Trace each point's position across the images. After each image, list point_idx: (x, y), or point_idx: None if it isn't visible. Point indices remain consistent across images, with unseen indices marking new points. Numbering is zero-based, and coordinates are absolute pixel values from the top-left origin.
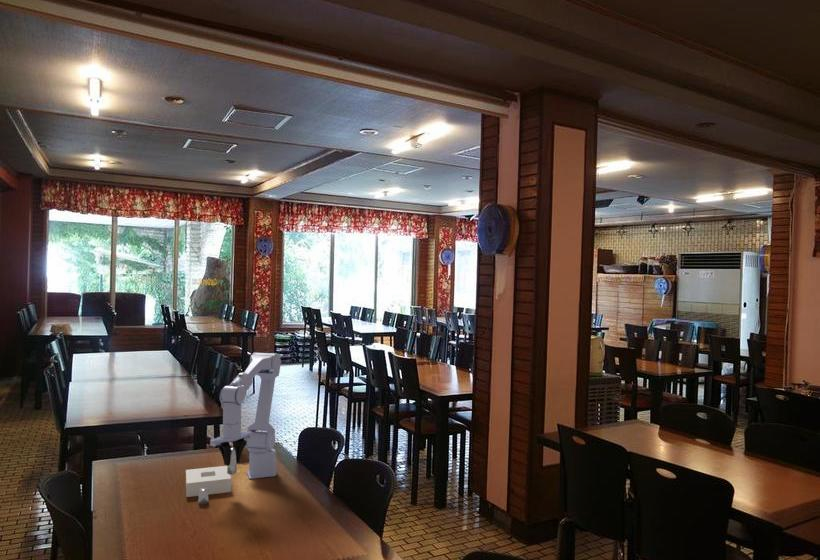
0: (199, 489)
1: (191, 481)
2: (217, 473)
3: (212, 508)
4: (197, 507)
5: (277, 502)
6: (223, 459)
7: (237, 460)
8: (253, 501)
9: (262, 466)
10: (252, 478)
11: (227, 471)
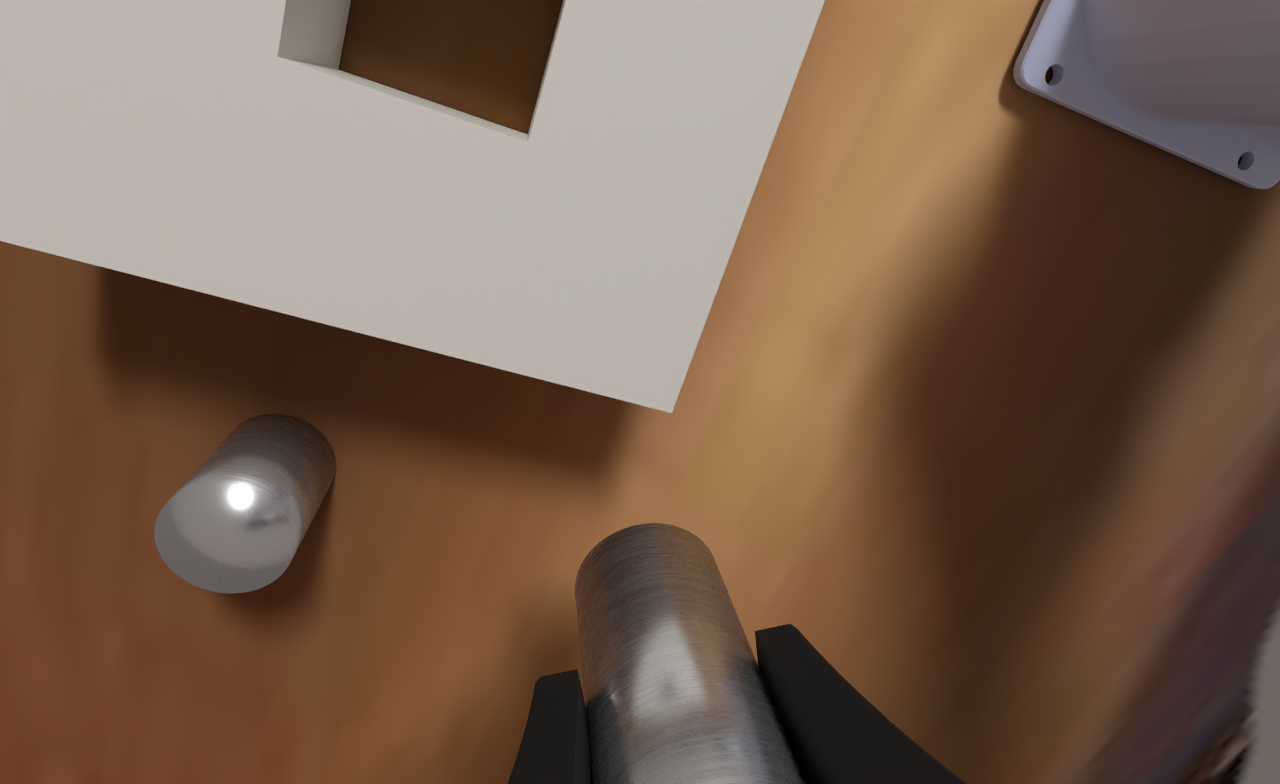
0: (172, 512)
1: (66, 182)
2: (590, 55)
3: (329, 648)
4: None
5: None
6: (521, 760)
7: None
8: None
9: (1275, 123)
10: (1039, 95)
11: (578, 618)
